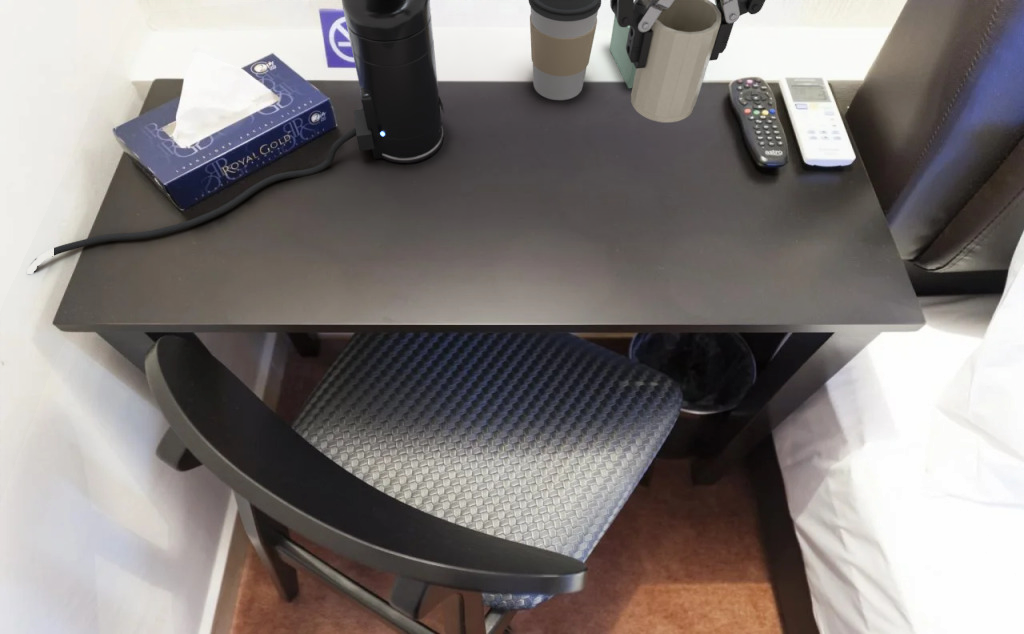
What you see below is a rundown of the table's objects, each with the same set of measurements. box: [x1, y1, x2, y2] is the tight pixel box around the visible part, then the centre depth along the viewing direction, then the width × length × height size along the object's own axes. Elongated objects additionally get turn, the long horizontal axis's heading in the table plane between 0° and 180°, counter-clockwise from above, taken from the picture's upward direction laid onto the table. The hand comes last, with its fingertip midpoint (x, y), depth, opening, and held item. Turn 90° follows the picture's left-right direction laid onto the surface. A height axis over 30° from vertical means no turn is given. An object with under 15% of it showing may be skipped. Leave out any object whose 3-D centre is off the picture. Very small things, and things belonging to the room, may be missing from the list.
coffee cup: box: [528, 0, 602, 101], centre depth 87 cm, size 9×9×15 cm
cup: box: [630, 0, 721, 124], centre depth 59 cm, size 6×6×9 cm
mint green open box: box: [609, 15, 636, 89], centre depth 92 cm, size 9×9×9 cm
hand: (672, 58), depth 59 cm, fingers closed on cup, 6 cm apart
